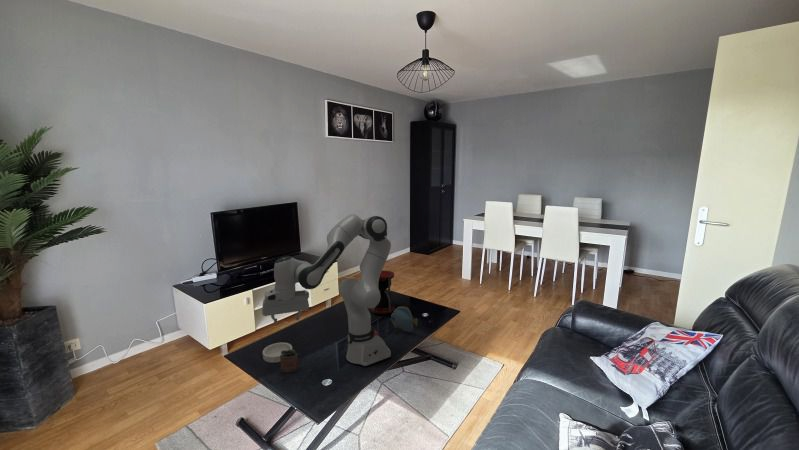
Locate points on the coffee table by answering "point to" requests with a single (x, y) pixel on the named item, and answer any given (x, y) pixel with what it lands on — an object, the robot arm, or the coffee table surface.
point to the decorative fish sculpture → (403, 319)
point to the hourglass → (384, 294)
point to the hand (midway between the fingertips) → (286, 321)
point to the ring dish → (275, 351)
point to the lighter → (289, 361)
